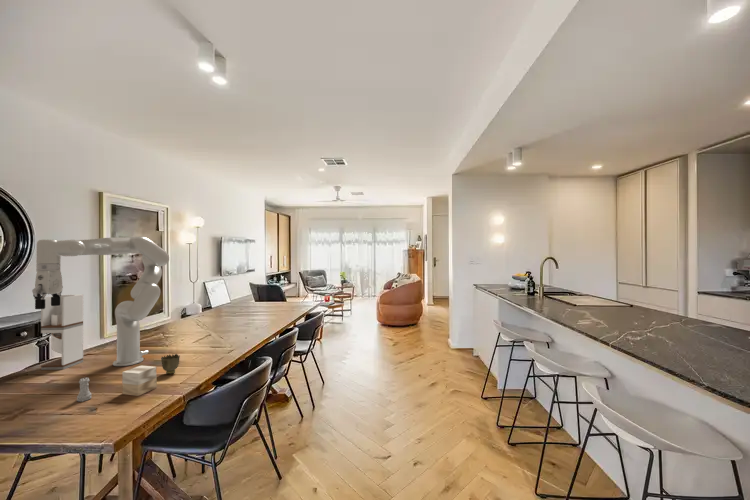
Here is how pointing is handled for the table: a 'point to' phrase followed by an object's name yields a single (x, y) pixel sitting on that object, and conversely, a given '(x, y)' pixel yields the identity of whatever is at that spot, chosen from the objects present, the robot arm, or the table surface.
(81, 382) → the rook chess piece
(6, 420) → the table surface
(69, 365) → the display case
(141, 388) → the tower base
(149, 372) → the tower top
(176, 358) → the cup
